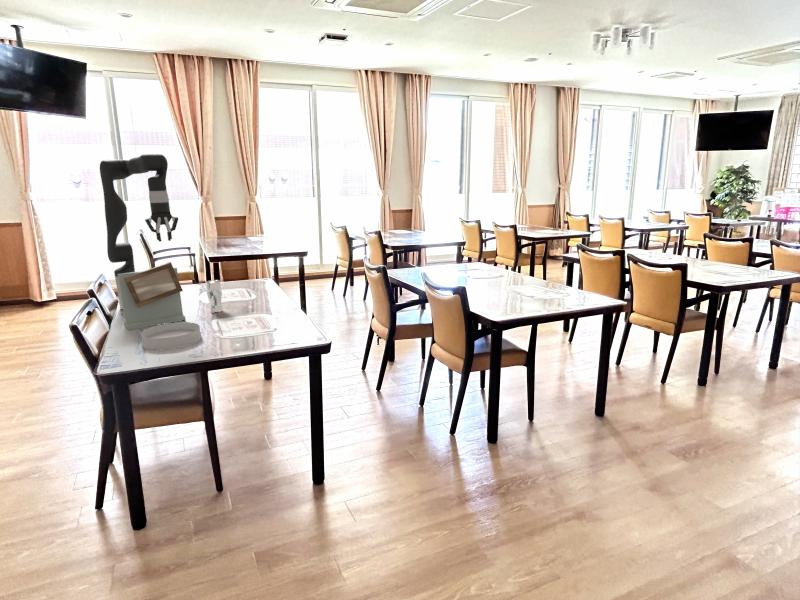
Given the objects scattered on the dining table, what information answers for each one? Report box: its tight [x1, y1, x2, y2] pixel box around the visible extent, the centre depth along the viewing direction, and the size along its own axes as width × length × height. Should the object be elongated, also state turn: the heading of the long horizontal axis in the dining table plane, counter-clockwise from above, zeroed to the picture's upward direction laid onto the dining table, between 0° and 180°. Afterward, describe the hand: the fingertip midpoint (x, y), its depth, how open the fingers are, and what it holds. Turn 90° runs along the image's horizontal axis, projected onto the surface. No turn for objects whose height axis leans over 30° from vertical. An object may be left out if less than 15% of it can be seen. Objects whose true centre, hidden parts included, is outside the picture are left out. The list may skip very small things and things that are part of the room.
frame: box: [124, 261, 184, 308], centre depth 228 cm, size 2×20×14 cm, turn 124°
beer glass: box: [205, 279, 224, 314], centre depth 250 cm, size 7×7×15 cm
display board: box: [118, 266, 187, 331], centre depth 232 cm, size 12×24×24 cm, turn 124°
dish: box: [140, 321, 202, 350], centre depth 207 cm, size 22×22×5 cm
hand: (164, 240), depth 227 cm, fingers open, 3 cm apart
